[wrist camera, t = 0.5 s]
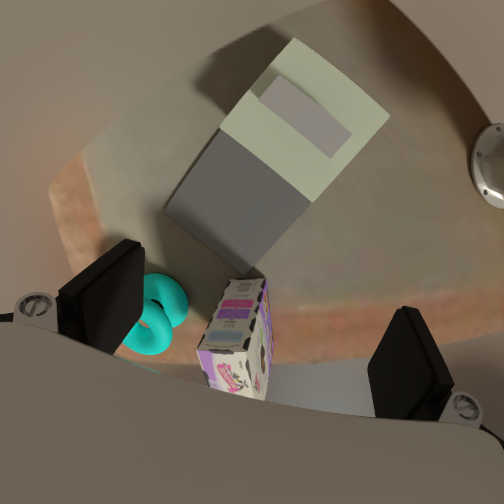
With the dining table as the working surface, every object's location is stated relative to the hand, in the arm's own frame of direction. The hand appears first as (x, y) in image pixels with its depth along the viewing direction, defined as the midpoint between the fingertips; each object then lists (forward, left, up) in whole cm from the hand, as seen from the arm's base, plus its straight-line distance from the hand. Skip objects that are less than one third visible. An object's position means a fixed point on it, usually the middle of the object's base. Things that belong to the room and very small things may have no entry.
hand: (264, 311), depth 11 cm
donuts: (+29, -3, -31) cm, 43 cm away
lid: (-6, -3, -25) cm, 26 cm away
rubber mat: (+8, -3, -31) cm, 32 cm away
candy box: (+21, +10, -31) cm, 39 cm away
